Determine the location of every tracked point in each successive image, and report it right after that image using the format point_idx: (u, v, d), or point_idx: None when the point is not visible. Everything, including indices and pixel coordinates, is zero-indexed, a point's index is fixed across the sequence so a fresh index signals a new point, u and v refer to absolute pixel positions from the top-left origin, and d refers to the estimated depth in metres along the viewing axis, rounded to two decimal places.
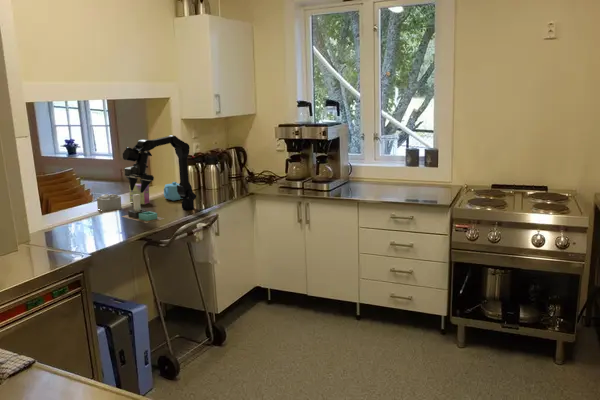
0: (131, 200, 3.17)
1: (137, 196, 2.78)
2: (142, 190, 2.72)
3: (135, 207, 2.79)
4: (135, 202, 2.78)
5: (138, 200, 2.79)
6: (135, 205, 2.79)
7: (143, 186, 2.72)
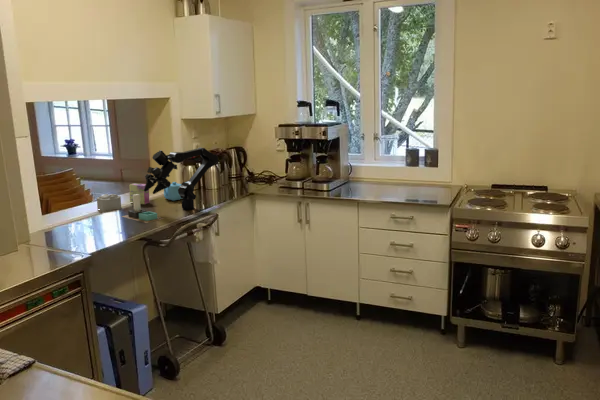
0: (131, 200, 3.17)
1: (137, 196, 2.78)
2: (154, 191, 2.81)
3: (135, 207, 2.79)
4: (135, 202, 2.78)
5: (138, 200, 2.79)
6: (135, 205, 2.79)
7: (157, 188, 2.81)
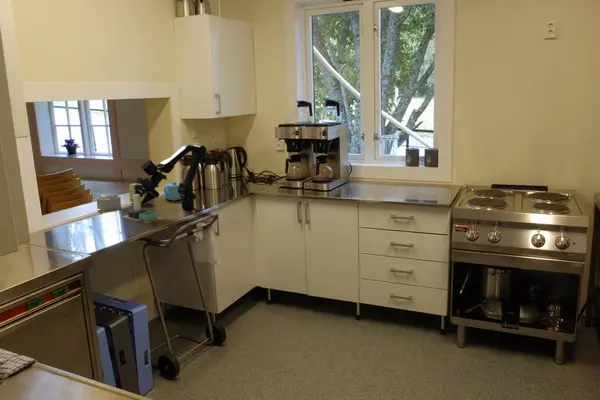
0: (131, 200, 3.17)
1: (137, 196, 2.78)
2: (143, 202, 2.77)
3: (135, 207, 2.79)
4: (135, 202, 2.78)
5: (138, 200, 2.79)
6: (135, 205, 2.79)
7: (146, 199, 2.77)
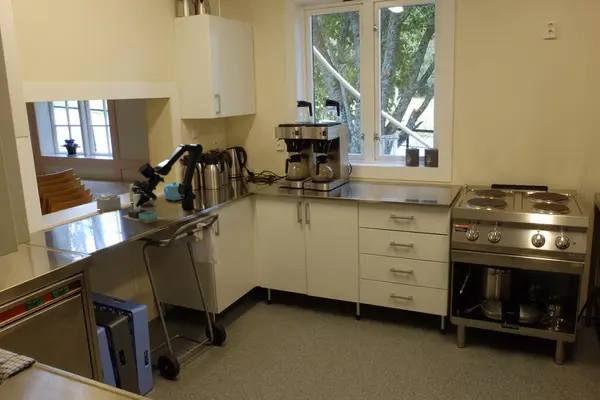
0: (131, 200, 3.17)
1: (137, 196, 2.78)
2: (138, 204, 2.78)
3: (135, 207, 2.79)
4: (135, 202, 2.78)
5: (138, 200, 2.79)
6: (135, 205, 2.79)
7: (141, 201, 2.78)
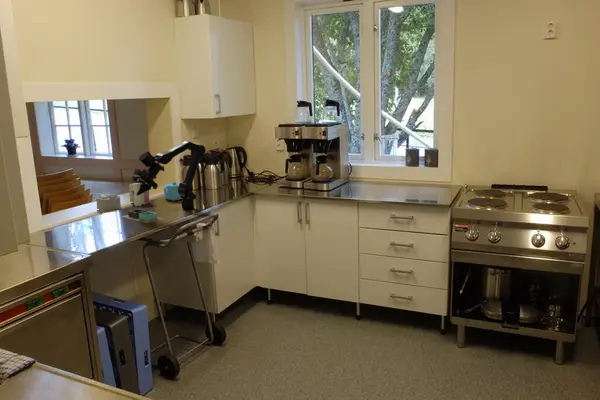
0: (131, 200, 3.17)
1: (138, 185, 2.76)
2: (139, 193, 2.76)
3: (136, 196, 2.77)
4: (135, 190, 2.76)
5: None
6: (135, 194, 2.76)
7: (141, 190, 2.76)
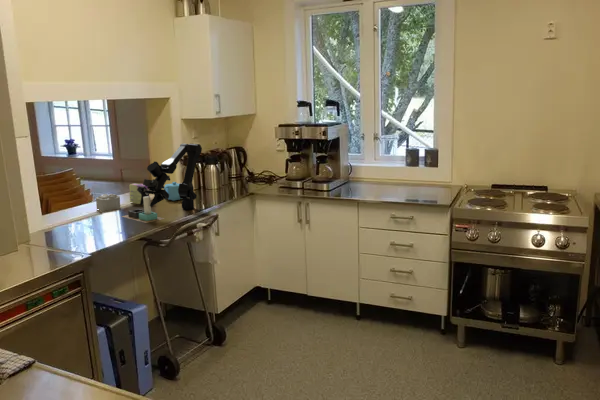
0: (131, 200, 3.17)
1: (148, 198, 2.72)
2: (152, 204, 2.72)
3: (146, 210, 2.73)
4: (146, 204, 2.73)
5: (149, 202, 2.73)
6: (146, 207, 2.73)
7: (154, 200, 2.73)
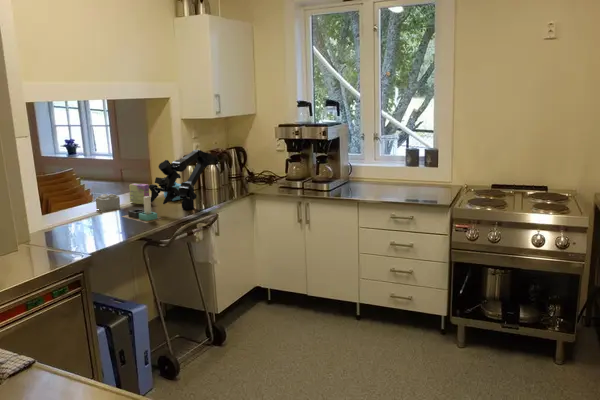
0: (131, 200, 3.17)
1: (149, 198, 2.73)
2: (165, 202, 2.79)
3: (147, 209, 2.74)
4: (146, 204, 2.73)
5: (149, 202, 2.74)
6: (146, 207, 2.73)
7: (167, 198, 2.80)
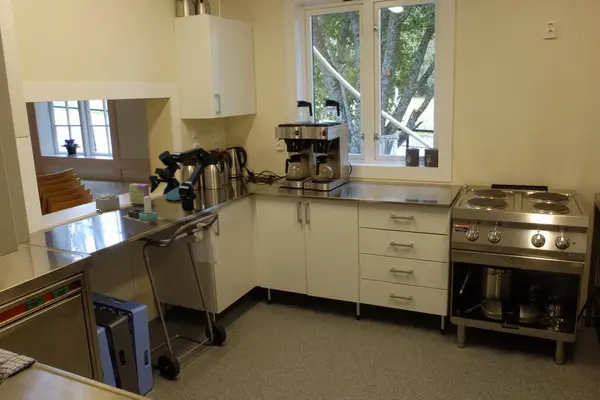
0: (131, 200, 3.17)
1: (149, 198, 2.73)
2: (165, 192, 2.78)
3: (147, 209, 2.74)
4: (146, 204, 2.73)
5: (150, 202, 2.74)
6: (146, 207, 2.73)
7: (167, 189, 2.79)
